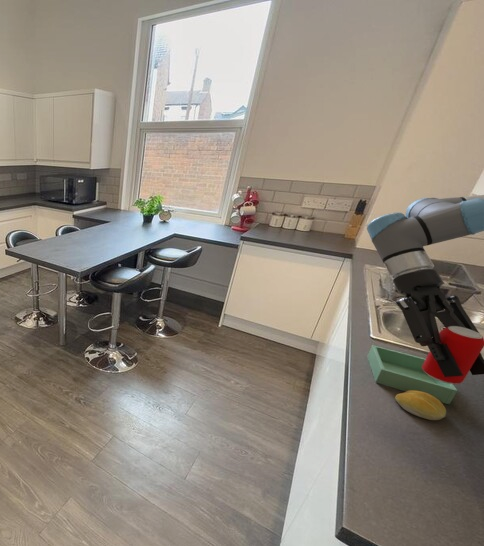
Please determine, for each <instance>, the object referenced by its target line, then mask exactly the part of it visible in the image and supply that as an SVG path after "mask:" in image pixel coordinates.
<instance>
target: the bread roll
mask: <svg viewBox="0 0 484 546" xmlns="http://www.w3.org/2000/svg"><path fill="white" fill-rule="evenodd" d="M394 399H395V401H396V402H397V404H398V405H399V406H400V407H401V408H402V409H403V410H405V411H406V412H408V413H409V414H411V415H413V416H415V417H418V418H422V419H425V420H430V421H440V420H442V419H443V418H445V417H446V416H447V409H446V406H444V403H442V402H440V401H439V400H438V399H437V398H435V397H433V396H432V395H430V394H428V393H425V392H421V391H414V390H409V391H403V392H401V393H398V394H396V395H395V398H394Z"/></svg>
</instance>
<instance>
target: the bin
mask: <svg viewBox="0 0 484 546" xmlns="http://www.w3.org/2000/svg"><path fill="white" fill-rule="evenodd" d="M366 359H367V362H368V364H369V368H370V370H371V374H372V375H373V379H374V382H375V383H377V384H380V385H384V386H387V387H390V388H392V389H397V390H400V391H403V392H406V391H409V390H414V391H421V392H425V393H428V394H430V395H432V396H433V397H435V398H437V399H438V400H439V401H440V402H441V403H442V404H446V405H450V404H451V403H452V401H453V399H454V397H456V394H457V393H458V389H457V388H456V387H455V384H448V383H443V382H440V381H438V380H435V379H433V378H432V377H430V376H429V375H427V374H426V373H425V372H424V371H423V369H422V365H423V363H424V362H425V360H426V358H424V357H421V356H417V355H413V354H409V353H405V352H401V351H397V350H393V349H390V348H387V347H386V348H385V347H383V346H382V347H381V346H377V345H374V344H371V347H370V349H369V351H368V353H367V356H366Z"/></svg>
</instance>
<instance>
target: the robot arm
mask: <svg viewBox="0 0 484 546" xmlns="http://www.w3.org/2000/svg"><path fill="white" fill-rule="evenodd" d="M366 230H367V233H368V235H369V237H370V239H371V243H372V244H373V246H374V248H375V250H376V251H377V254H378V255H379V258H380V259H381V261H382V263H383V264H384V267H385V268H386V270H387V273H388V275H389V276H390V278H392V283H393V285H394V287H395V289H396V291H397V292H398V293H399V294H400V295H404V298H401V299H398V300H396V301H395V305H397V307H398V308H399V309H400V310H401V312H402V315H403V317H404V320H405V321H406V323H407V326H408V329H409V330H410V333H411V335H412V337H413V340H414V341H415V343H416V344H419V345H420V346H421V347H428V350H429V352H430V351H431V353H432V355H433V357H434V359H435V360H436V361H437V363H438V365H439V367H440V369H441V371H442V373H443V375H444V377H453V376H463V374H462V372H461V370H460V368H459V366H458V364H457V363H456V361H455V359H454V357H453V355H452V353H451V351H450V350H449V348H448V346H447V344H441V339H440V335H439V333H440V331H439V327H438V323H437V319H438V321H440V323H441V324H442V325H443V326H444V328H447V327H449V326H458V327H463V328H467V329H470V330H473V331H475V332H478V333H479V334H481V333H480V332H479V330H478V329H477V327H476V326H475V324H474V322H473V321H472V320H471V318H470V316H469V315H468V313H467V312H466V310H465V309H464V307H463V306H462V304H461V300H460V298H459V296H457V295H451V296H448V295H446V294H445V293H444V292H443V291H442V290H441V286H443V285H444V280H443V279H442V277H441V275H440V274H439V272H438V270H436V269H434V268H435V265H434V263H433V261H432V259H431V258H430V257H429V254H428V253H427V251H426V250H425V247H427V246H431V245H434V244H439V243H443V242H446V241H447V242H448V241H451V240H455V239H458V238H459V239H460V238H462V237H467V236H472V235H473V236H474V235H476V234H479V233H481V232H484V194H478V195H477V194H476V195H467V196H458V197H457V196H456V197H455V196H454V197H444V198H439V197H438V198H437V197H424V198H420V199H416V200H415V201H413V202H412V203H410V204H409V205H408V207H407V208H406V210H405V214H404V213H402V212H393V213H387V214H384V215H381V216H379V217H376V218H374V219H373V220H371V221H370V222H369V223H368V224H367V227H366ZM436 318H437V319H436ZM469 372H470V373H471V375H472V376H479V375H484V357H483V355H482V352H480V354H479V355H478V357H477V359H476V360H475V362H474V364H473V365H472V367H471V369H470V370H469Z"/></svg>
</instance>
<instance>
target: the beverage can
mask: <svg viewBox="0 0 484 546" xmlns="http://www.w3.org/2000/svg"><path fill="white" fill-rule="evenodd" d="M478 332H479V331H478ZM478 332H475V331H473V330H470V329H467V328H463V327H458V326H449V327H447V328H446V327H444V328H443V329H441V330H440V331H439V335H440V339H441V344H447V346H448V348H449V350H450V351H451V353H452V355H453V357H454V359H455V361H456V363H457V364H458V366H459V368H460V370H461V372H462V374H463V376H453V377H444V375H443V373H442V371H441V369H440V367H439V365H438V363H437V361H436V360H435V359H434V357H433V355H432V353H431V351H430V350H429V352H428V354H427V356H426V358H425V359H426V360H425V362H424V363H423V365H422V369H423V371H424V372H425V373H426V374H427V375H429V376H430V377H432V378H433V379H435V380H438V381H440V382H443V383H448V384H453V385H460V384H461V383H463V382H464V380H465V378H466V377H467V375H468V374H469V372H470V369H471V367H472V365H473V364H474V362H475V360H476V359H477V357H478V355H479V354H480V353H482V350H483V349H484V336H483V335H482V334H481V333H480V332H479V333H480V334H479V333H478Z"/></svg>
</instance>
